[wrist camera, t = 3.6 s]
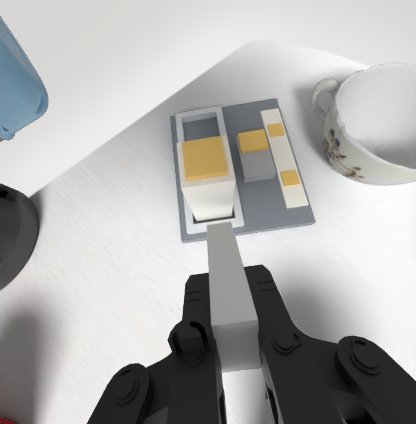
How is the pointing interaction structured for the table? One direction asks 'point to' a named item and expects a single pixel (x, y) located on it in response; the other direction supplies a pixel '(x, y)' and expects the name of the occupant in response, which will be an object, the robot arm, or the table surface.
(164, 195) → the table surface
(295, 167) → the console
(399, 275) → the table surface
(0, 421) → the canned food
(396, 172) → the teacup
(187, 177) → the slide switch
